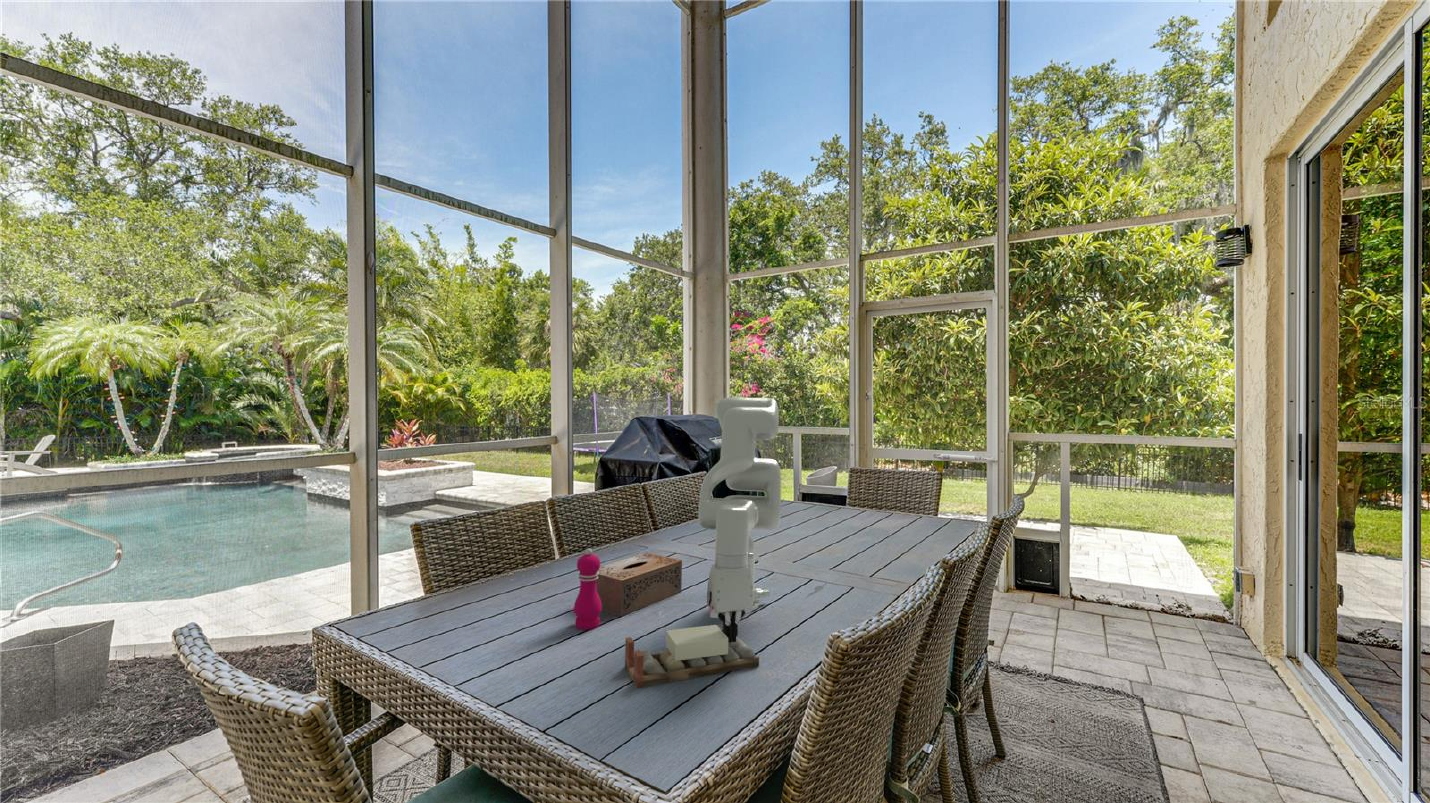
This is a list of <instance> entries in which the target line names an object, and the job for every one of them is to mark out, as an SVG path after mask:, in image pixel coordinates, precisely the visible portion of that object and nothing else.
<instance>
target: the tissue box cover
mask: <svg viewBox="0 0 1430 803" xmlns="http://www.w3.org/2000/svg"><path fill="white" fill-rule="evenodd" d="M682 567H683V560H682V559H677V558H673V557H668V556H664V555H660V554H656V553H651V552H644V553H640V554H637V555H633V556H630V557H627V558H623V559H621V560H617V561H613V562H610V563H606V564H603V565H600V568H599V570H598V571H597V572H598V579H597V580H596V588H597V592H598V595H599V597H600V600H601V603H602V611H603V612H607V613H610V614H613V615H616V616H620V617H623V616H625V615H629V614H630V613H632V612H633V613H634V612H636V611H638V610H641V609H643V608H646V607H648V606H650V605H653V604H656V603H658V602H660V601H662V600H666V599H667V598H671V597H674V596H675V595H678V594H680V593H682V580H683V578H682V575H683V570H682V569H683V568H682Z"/></svg>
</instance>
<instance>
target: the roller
mask: <svg viewBox="0 0 1430 803" xmlns="http://www.w3.org/2000/svg"><path fill="white" fill-rule="evenodd" d="M660 653H661V654H660V661H661V664H662V666H663V667H664V668H665V670H666V671H667V672H670V671H676V670H682V669H685V666H684V664H683V663H682V662H681V660H678V661H675V660H674V658H673V656H672V655H671V653H670V652H669V650H668V648H665V649H663V650H662V651H661V652H660Z"/></svg>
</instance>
